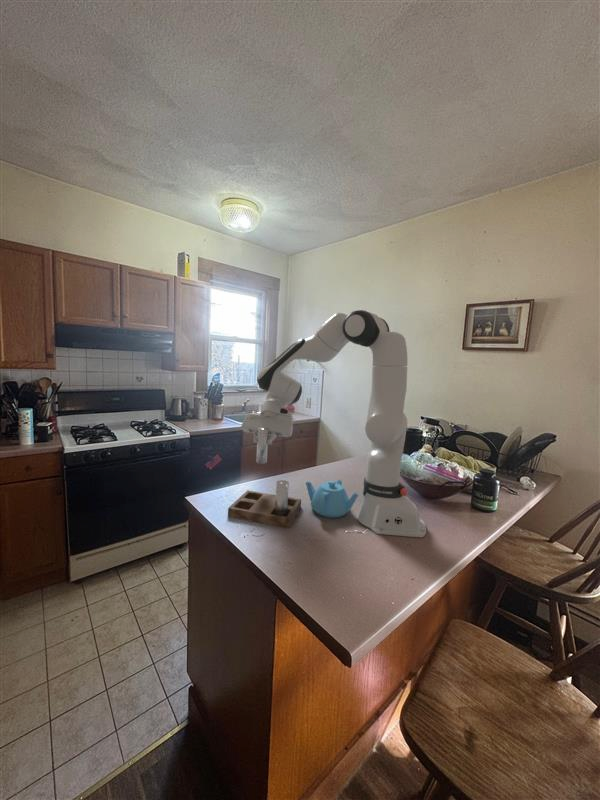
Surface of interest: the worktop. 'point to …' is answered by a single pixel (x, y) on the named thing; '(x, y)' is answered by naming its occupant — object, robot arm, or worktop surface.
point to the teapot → (330, 499)
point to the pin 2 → (281, 498)
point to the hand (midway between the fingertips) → (261, 442)
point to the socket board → (263, 509)
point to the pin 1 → (262, 445)
